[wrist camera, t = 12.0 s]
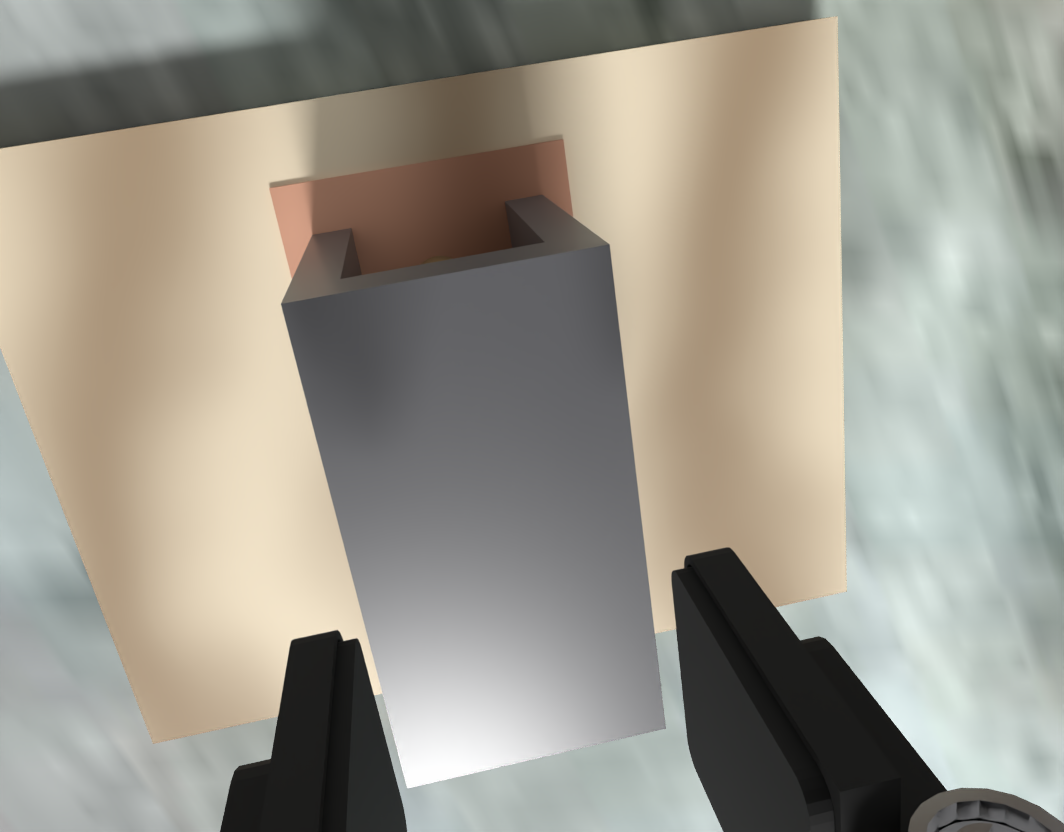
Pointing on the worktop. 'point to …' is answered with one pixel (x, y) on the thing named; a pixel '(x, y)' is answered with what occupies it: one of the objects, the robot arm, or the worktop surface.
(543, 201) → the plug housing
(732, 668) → the robot arm
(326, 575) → the pin board
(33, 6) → the worktop surface
